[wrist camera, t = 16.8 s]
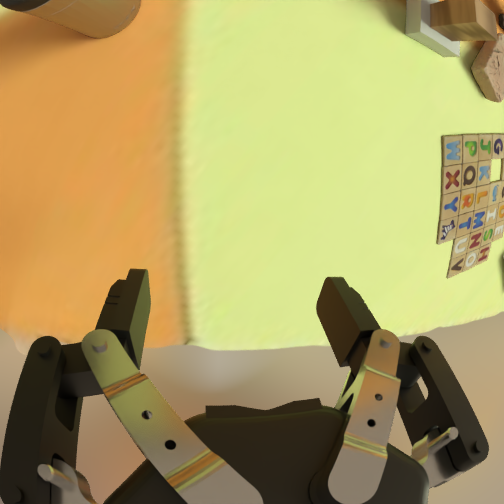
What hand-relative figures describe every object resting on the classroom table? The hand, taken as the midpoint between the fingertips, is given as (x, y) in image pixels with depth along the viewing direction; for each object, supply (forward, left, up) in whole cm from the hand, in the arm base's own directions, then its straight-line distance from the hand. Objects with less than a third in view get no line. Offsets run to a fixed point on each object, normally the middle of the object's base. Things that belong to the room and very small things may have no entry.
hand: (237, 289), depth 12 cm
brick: (+20, +54, -28) cm, 64 cm away
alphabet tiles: (+44, +32, -28) cm, 61 cm away
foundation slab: (+6, +42, -27) cm, 50 cm away
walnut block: (+6, +42, -23) cm, 48 cm away
